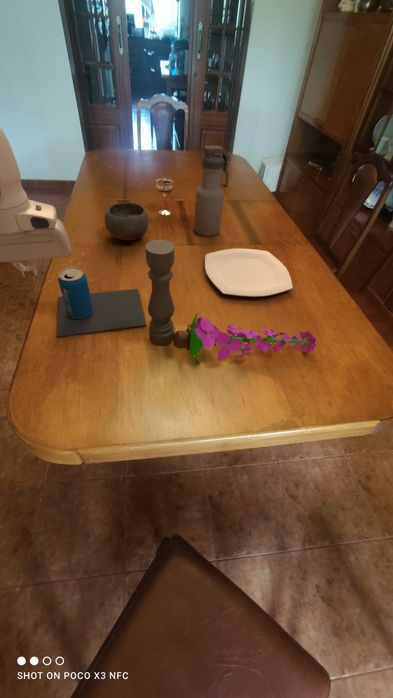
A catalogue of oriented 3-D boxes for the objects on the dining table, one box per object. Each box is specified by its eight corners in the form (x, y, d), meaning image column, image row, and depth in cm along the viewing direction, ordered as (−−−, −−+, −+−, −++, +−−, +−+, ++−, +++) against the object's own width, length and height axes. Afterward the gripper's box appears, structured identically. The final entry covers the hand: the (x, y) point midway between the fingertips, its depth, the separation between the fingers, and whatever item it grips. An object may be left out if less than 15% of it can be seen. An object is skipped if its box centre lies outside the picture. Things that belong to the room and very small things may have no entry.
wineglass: (166, 207, 133) (166, 176, 125) (176, 213, 130) (176, 182, 121) (153, 210, 130) (152, 179, 122) (162, 217, 127) (162, 185, 118)
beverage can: (62, 315, 82) (50, 275, 74) (80, 302, 86) (70, 263, 78) (82, 324, 81) (71, 284, 72) (98, 310, 85) (91, 271, 76)
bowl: (105, 228, 117) (101, 201, 110) (145, 226, 120) (144, 199, 113) (108, 249, 107) (104, 220, 100) (152, 246, 111) (151, 217, 104)
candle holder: (177, 333, 81) (180, 242, 63) (168, 349, 77) (169, 257, 59) (155, 326, 82) (151, 236, 64) (145, 342, 78) (138, 250, 60)
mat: (56, 337, 77) (56, 336, 77) (58, 298, 88) (57, 296, 87) (146, 326, 82) (146, 324, 82) (138, 289, 93) (137, 288, 92)
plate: (269, 251, 114) (271, 246, 112) (302, 297, 96) (304, 292, 94) (196, 255, 108) (197, 250, 107) (216, 304, 91) (217, 299, 89)
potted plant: (169, 353, 81) (293, 352, 89) (178, 377, 66) (328, 373, 73) (170, 305, 78) (299, 308, 85) (180, 318, 63) (337, 320, 70)
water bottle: (214, 223, 126) (223, 142, 106) (224, 235, 120) (235, 151, 100) (190, 226, 123) (194, 143, 103) (199, 238, 117) (206, 152, 97)
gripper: (-56, 225, 58) (-23, 287, 68) (62, 219, 63) (76, 278, 73) (-48, 211, 62) (-18, 271, 72) (62, 206, 67) (76, 263, 77)
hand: (30, 275), depth 73 cm, fingers closed
